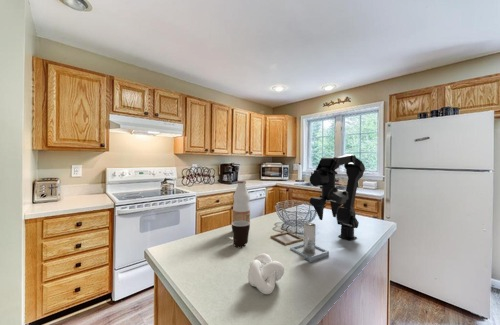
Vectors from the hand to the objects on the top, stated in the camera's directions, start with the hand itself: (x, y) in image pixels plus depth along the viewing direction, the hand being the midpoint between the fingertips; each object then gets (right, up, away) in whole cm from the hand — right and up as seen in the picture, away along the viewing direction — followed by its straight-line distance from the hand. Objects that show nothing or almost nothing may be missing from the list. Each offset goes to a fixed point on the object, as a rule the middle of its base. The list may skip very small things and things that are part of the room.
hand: (327, 218), depth 100 cm
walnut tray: (-18, -13, +6) cm, 23 cm away
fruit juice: (-40, -13, +20) cm, 47 cm away
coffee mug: (-40, -13, +4) cm, 42 cm away
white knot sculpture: (-30, -14, -30) cm, 45 cm away
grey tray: (-11, -13, -7) cm, 18 cm away
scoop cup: (-10, -13, -7) cm, 18 cm away
